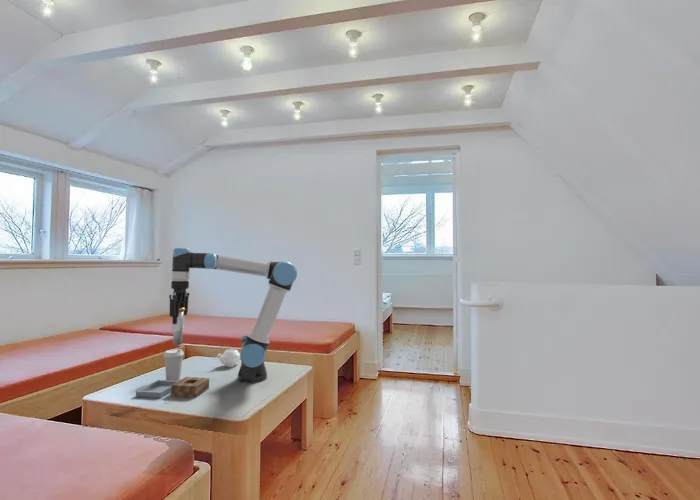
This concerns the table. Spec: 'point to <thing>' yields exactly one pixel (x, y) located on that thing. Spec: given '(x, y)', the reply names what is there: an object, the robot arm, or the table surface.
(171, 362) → the coffee cup
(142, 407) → the table surface
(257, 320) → the robot arm
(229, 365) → the teapot
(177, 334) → the hitch pin
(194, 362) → the table surface
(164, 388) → the tray
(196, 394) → the socket block
